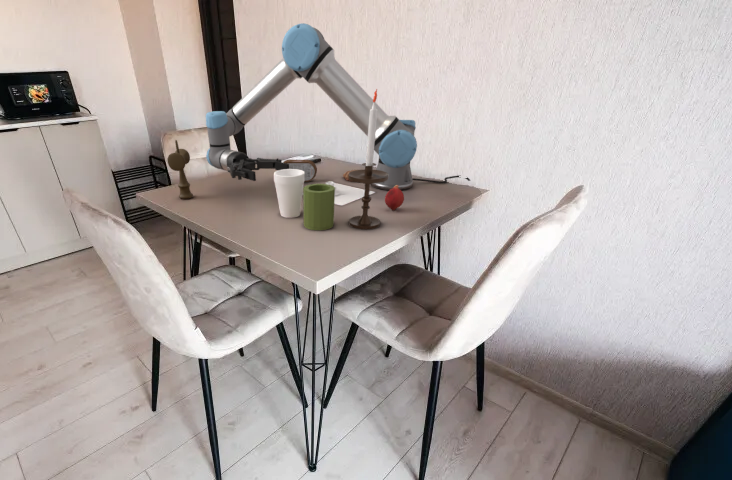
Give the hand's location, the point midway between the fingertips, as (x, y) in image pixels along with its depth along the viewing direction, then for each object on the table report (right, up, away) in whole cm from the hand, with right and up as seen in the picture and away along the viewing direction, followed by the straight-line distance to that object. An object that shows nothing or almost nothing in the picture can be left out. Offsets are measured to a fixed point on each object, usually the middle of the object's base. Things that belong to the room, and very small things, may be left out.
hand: (272, 172), depth 119 cm
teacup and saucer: (+23, -2, +18) cm, 30 cm away
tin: (+9, +8, +33) cm, 36 cm away
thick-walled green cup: (+14, -18, -8) cm, 25 cm away
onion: (+39, -12, +1) cm, 41 cm away
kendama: (-33, -3, +19) cm, 38 cm away
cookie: (+33, +9, +35) cm, 49 cm away
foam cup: (+6, -13, +1) cm, 15 cm away
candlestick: (+28, -18, -8) cm, 34 cm away
